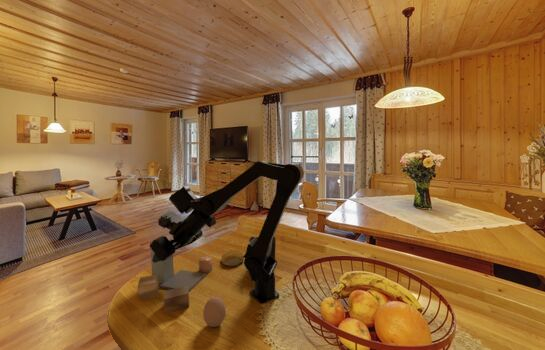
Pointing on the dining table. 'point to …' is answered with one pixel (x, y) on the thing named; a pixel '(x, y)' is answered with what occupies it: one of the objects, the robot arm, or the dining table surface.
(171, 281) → the coaster
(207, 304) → the mauve oval ball
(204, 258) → the pink rounded pebble
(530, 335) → the dining table surface
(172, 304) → the walnut brick
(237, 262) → the bread roll
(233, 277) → the dining table surface
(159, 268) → the tall block
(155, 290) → the beech cube
